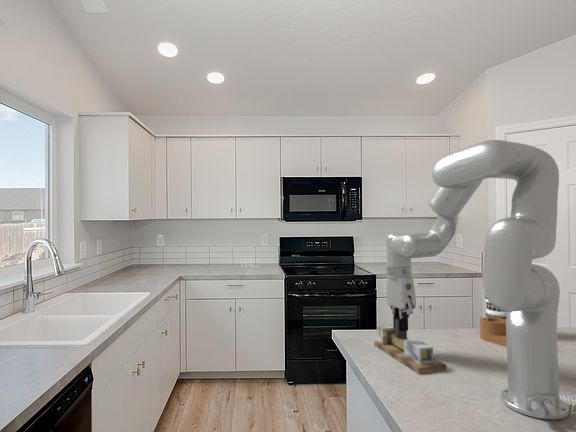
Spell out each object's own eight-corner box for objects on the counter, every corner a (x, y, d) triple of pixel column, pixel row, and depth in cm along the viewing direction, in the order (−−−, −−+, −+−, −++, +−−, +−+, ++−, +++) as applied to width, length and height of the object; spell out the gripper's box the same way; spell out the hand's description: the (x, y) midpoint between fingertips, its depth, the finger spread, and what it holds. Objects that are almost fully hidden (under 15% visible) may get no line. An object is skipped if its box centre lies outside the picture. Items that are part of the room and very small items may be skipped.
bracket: (475, 338, 127) (474, 318, 127) (490, 334, 130) (489, 315, 131) (528, 354, 111) (527, 331, 111) (543, 349, 114) (542, 328, 115)
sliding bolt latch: (446, 370, 99) (445, 346, 100) (418, 374, 97) (418, 349, 97) (397, 342, 123) (397, 323, 123) (374, 345, 121) (374, 325, 121)
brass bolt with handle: (428, 358, 102) (427, 328, 103) (419, 359, 102) (418, 329, 102) (399, 342, 117) (398, 315, 117) (391, 343, 116) (390, 316, 116)
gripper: (424, 274, 107) (426, 335, 106) (395, 268, 122) (397, 322, 122) (403, 275, 105) (404, 338, 105) (376, 269, 120) (377, 324, 120)
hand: (400, 329), depth 113 cm, fingers closed on brass bolt with handle, 2 cm apart
